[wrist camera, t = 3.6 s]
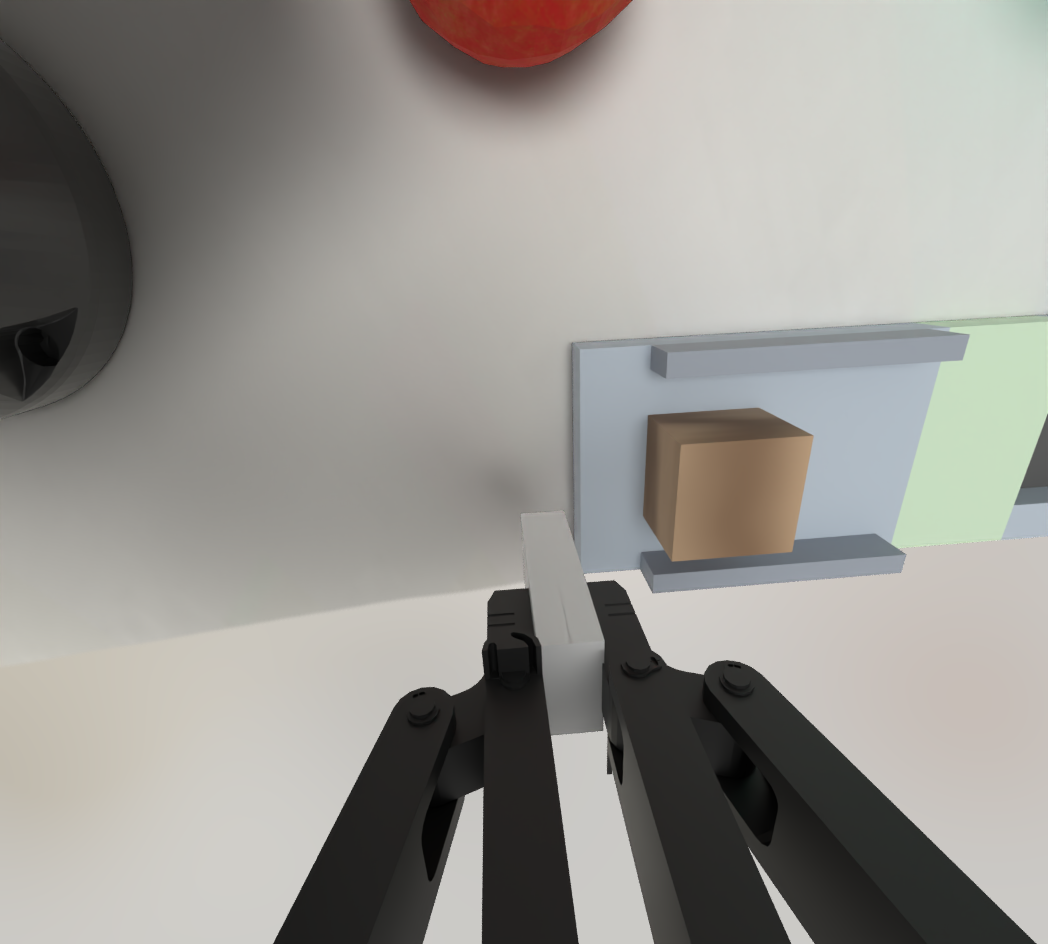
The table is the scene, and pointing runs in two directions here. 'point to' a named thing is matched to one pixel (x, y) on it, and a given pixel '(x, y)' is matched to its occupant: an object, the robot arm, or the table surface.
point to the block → (724, 482)
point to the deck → (827, 440)
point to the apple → (517, 27)
